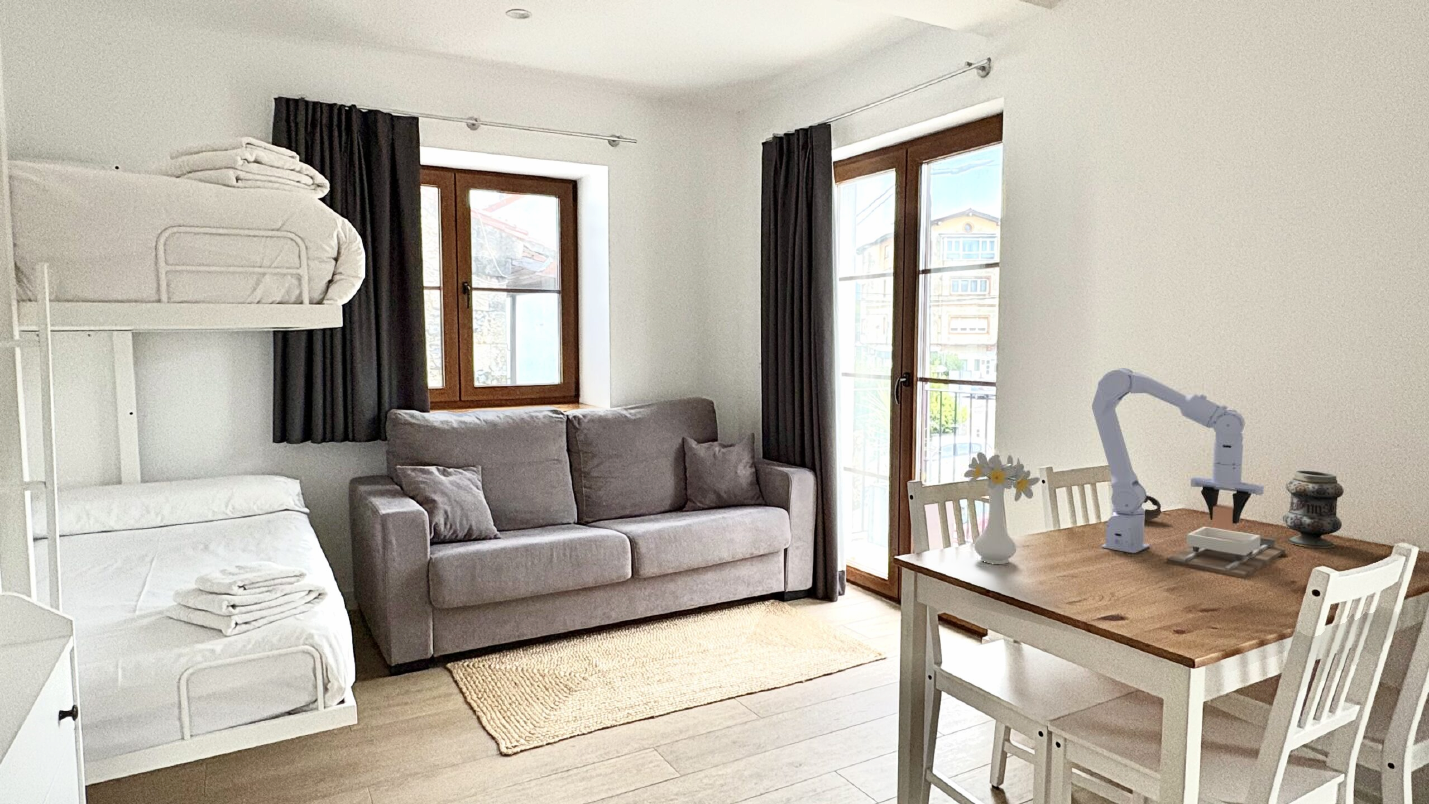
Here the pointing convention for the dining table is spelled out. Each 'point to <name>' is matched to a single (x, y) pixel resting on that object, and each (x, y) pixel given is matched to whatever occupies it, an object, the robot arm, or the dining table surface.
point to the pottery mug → (1152, 513)
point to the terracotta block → (1223, 517)
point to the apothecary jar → (1313, 507)
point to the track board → (1228, 559)
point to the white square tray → (1223, 541)
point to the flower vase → (998, 503)
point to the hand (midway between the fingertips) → (1224, 521)
